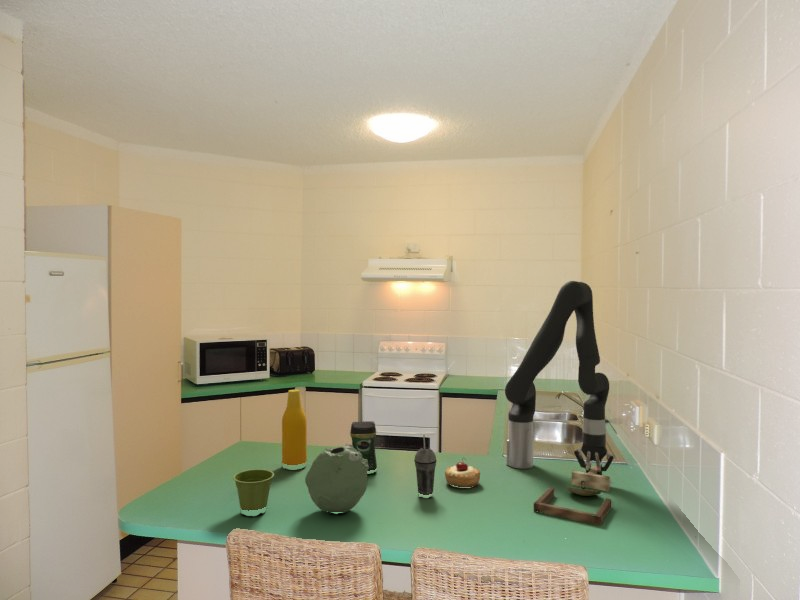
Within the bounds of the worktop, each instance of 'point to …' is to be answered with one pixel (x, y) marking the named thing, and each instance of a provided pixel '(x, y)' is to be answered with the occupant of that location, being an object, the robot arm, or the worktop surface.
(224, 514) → the worktop surface
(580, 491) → the lid
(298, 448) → the beer bottle
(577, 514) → the walnut bay
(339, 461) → the round grey vase
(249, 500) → the plant pot
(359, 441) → the coffee jar
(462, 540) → the worktop surface
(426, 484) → the beverage cup
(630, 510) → the worktop surface
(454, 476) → the pastry
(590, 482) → the wooden pusher
